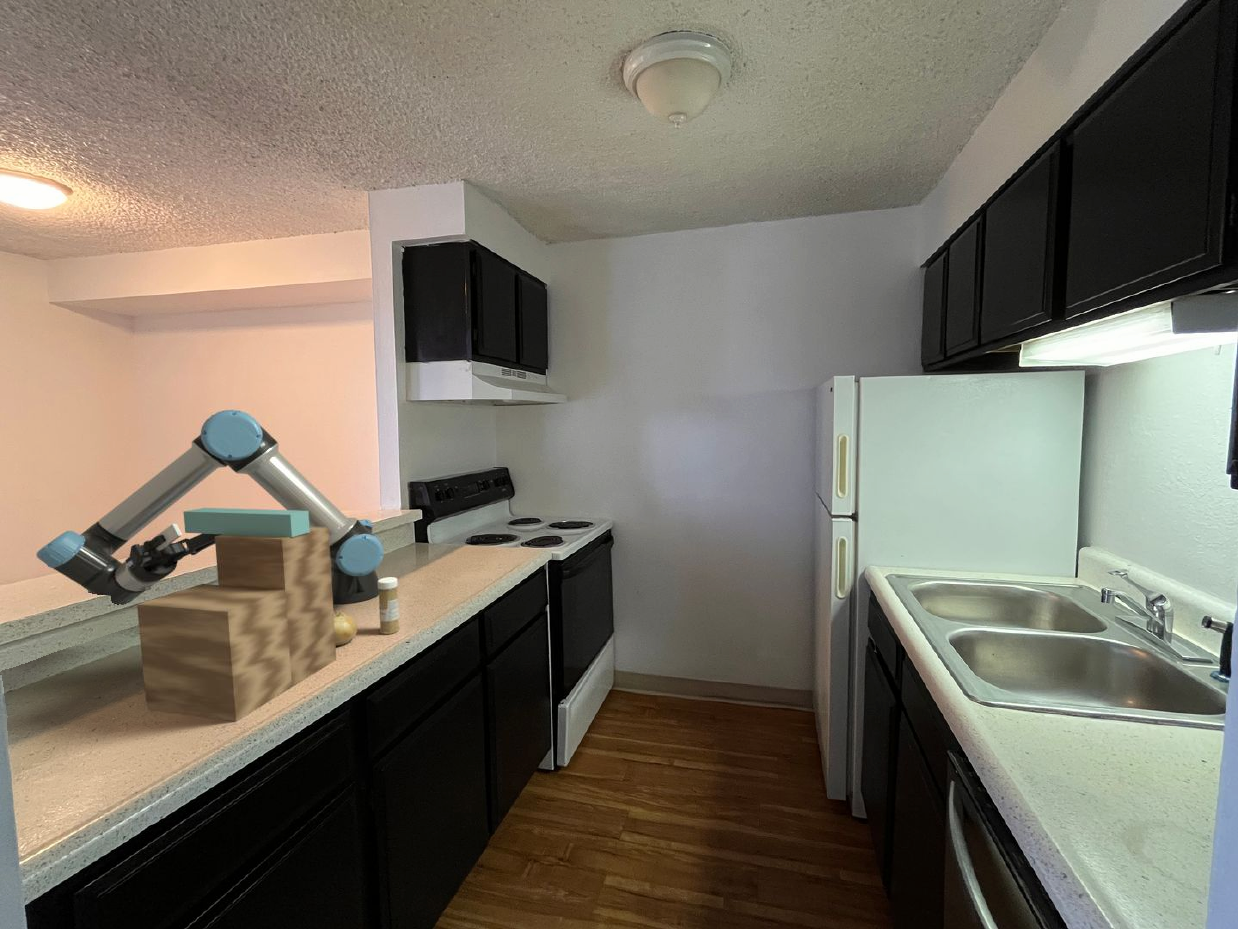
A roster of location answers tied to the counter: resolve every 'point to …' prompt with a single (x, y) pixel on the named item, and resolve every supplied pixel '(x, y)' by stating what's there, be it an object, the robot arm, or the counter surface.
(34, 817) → the counter surface
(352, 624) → the onion
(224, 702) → the wooden step block
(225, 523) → the slim box
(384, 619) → the sprinkles bottle
